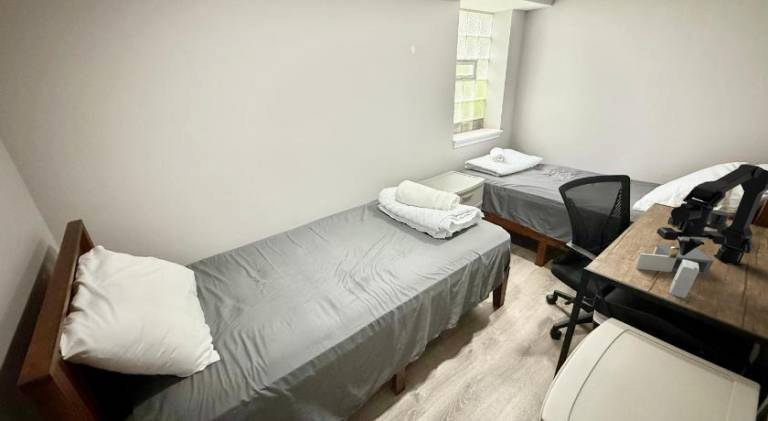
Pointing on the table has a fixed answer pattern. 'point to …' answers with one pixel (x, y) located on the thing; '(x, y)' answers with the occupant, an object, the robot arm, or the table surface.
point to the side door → (658, 261)
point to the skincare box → (684, 278)
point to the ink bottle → (717, 221)
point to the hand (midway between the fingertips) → (682, 255)
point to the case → (687, 258)
